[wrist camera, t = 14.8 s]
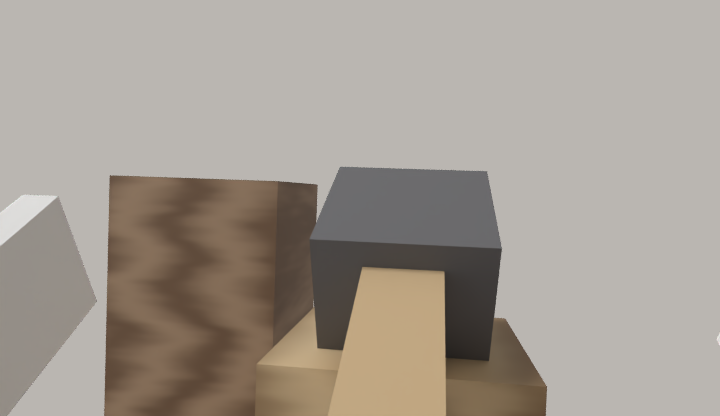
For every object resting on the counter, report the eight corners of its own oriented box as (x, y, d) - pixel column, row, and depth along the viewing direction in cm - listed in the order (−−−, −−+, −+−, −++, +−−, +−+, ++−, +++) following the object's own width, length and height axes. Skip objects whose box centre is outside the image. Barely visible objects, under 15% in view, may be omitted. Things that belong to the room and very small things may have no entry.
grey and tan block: (219, 681, 14) (180, 542, 12) (343, 258, 33) (340, 166, 30) (530, 730, 13) (567, 590, 11) (478, 265, 32) (486, 171, 29)
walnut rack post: (99, 625, 39) (109, 175, 38) (181, 517, 52) (190, 180, 51) (262, 648, 37) (277, 181, 36) (305, 531, 50) (317, 184, 49)
